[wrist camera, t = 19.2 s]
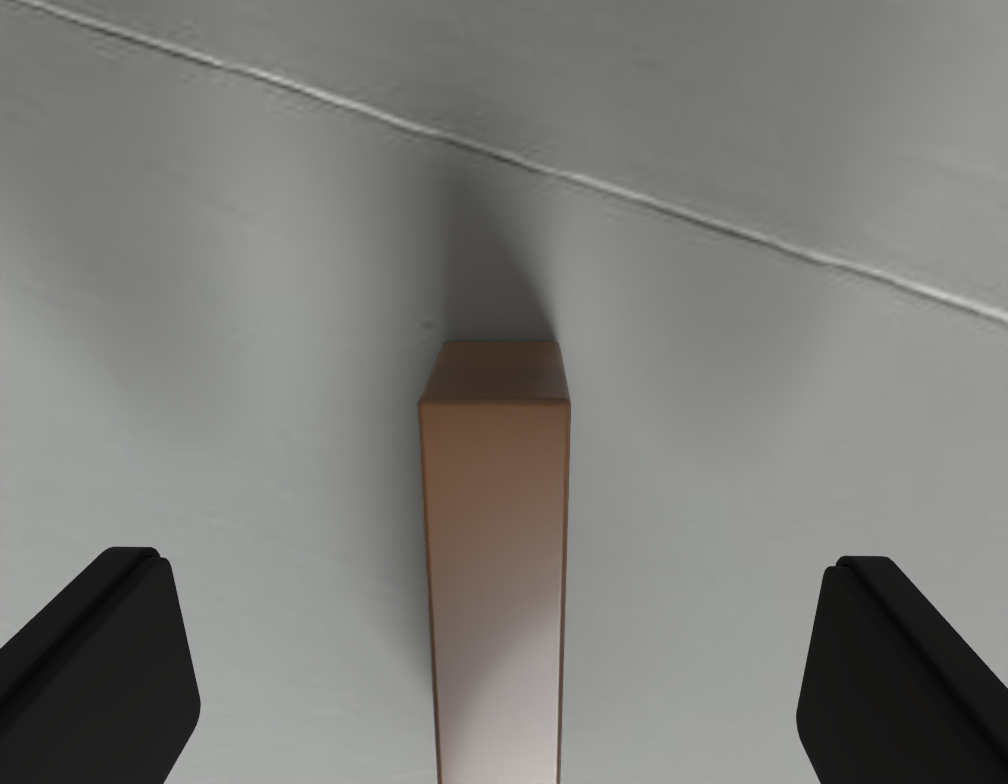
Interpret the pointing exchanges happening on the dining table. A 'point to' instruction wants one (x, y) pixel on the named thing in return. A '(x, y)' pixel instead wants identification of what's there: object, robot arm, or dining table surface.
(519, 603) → the brown wooden block
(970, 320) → the dining table surface
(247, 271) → the dining table surface
